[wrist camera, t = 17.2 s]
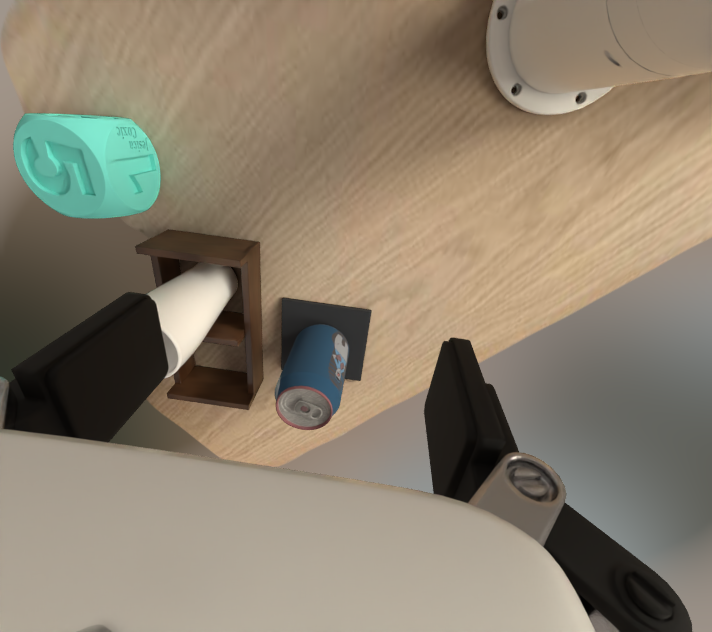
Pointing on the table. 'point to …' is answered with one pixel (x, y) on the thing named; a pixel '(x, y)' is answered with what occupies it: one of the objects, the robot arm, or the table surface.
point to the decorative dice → (87, 164)
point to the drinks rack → (228, 325)
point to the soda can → (312, 378)
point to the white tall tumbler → (191, 308)
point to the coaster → (340, 317)
